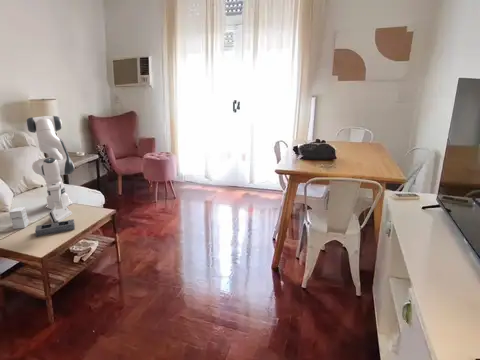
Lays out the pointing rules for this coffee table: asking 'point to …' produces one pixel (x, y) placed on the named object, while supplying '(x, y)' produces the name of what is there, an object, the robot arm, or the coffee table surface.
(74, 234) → the coffee table surface
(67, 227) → the rail
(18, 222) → the supplement box
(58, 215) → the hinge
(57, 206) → the nut block
